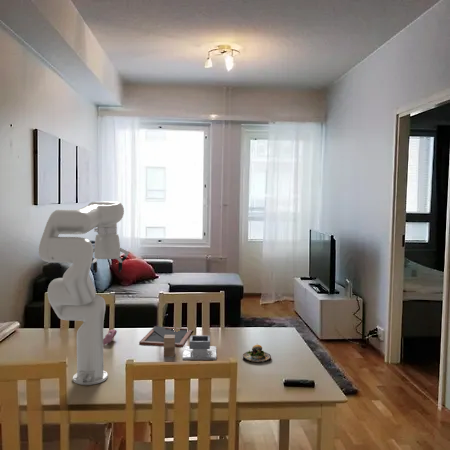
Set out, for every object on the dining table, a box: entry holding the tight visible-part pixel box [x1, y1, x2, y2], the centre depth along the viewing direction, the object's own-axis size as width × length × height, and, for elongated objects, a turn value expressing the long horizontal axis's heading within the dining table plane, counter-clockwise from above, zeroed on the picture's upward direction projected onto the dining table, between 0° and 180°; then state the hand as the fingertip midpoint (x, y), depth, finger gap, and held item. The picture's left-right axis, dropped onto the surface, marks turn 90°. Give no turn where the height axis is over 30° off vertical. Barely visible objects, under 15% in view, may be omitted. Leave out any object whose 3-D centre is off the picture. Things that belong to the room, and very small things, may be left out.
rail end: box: [163, 335, 176, 357], centre depth 205 cm, size 4×4×8 cm
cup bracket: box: [182, 334, 217, 361], centre depth 206 cm, size 14×14×7 cm
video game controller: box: [103, 329, 118, 346], centre depth 220 cm, size 10×5×7 cm, turn 179°
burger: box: [242, 344, 272, 363], centre depth 201 cm, size 12×12×8 cm
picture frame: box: [138, 325, 193, 348], centre depth 229 cm, size 20×2×25 cm
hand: (107, 272), depth 200 cm, fingers open, 9 cm apart
